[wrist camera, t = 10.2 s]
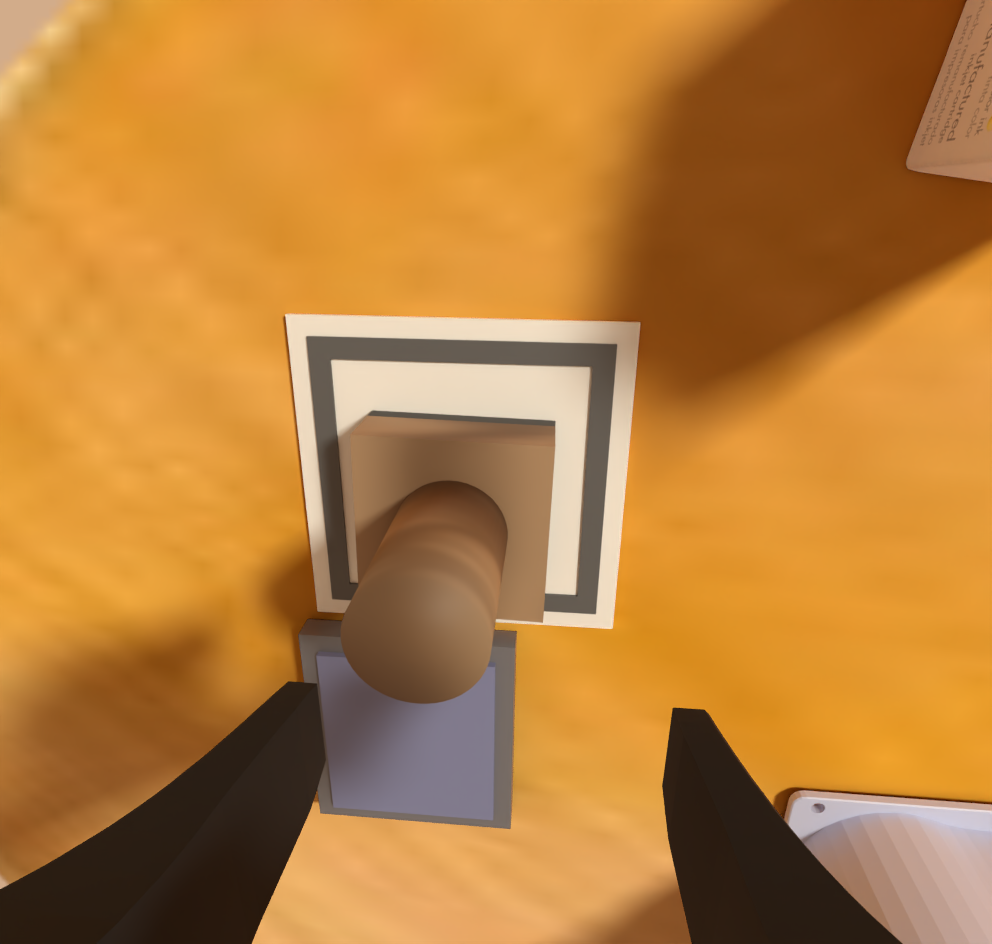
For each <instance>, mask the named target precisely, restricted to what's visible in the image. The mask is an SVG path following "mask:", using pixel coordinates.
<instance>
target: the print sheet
mask: <svg viewBox="0 0 992 944" xmlns="http://www.w3.org/2000/svg"><path fill="white" fill-rule="evenodd" d="M285 317H286V326H287V335H288V344H289V353H290V363H291V372H292V381H293V390H294V399H295V409H296V418H297V427H298V436H299V445H300V454H301V464H302V473H303V482H304V491H305V500H306V510H307V519H308V528H309V537H310V546H311V556H312V565H313V574H314V583H315V592H316V601H317V611H318V612H333V613H345V611H346V609H347V608H348V606H349V604H350V602H351V600H352V598H353V596H354V594H355V592H356V590H357V588H358V572H357V553H356V535H355V517H354V499H353V480H352V462H351V444H350V434H351V433H352V432H353V431H354V430H355V429H356V428H357V427H358V425H359V424H360V423H361V422H362V421H363V420H364V419H365V418H366V417H367V416H368V414H369V413H370V412H371V411H372V410H375V411H393V412H411V413H428V414H446V415H464V416H482V417H499V418H517V419H535V420H552V421H556V423H555V459H554V473H553V488H552V502H551V516H550V530H549V544H548V559H547V573H546V587H545V601H544V616H543V623H542V622H529V621H516V620H503V619H496V622H503V623H520V624H537V625H554V626H571V627H589V628H606V629H613V619H614V608H615V597H616V587H617V576H618V565H619V554H620V543H621V532H622V521H623V510H624V499H625V488H626V477H627V466H628V455H629V444H630V433H631V423H632V412H633V401H634V390H635V379H636V368H637V357H638V346H639V335H640V324H641V323H640V322H626V321H583V320H541V319H499V318H456V317H414V316H372V315H329V314H285Z"/></svg>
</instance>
